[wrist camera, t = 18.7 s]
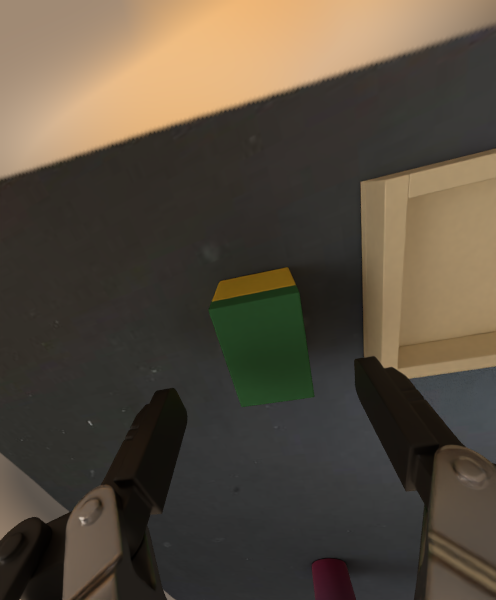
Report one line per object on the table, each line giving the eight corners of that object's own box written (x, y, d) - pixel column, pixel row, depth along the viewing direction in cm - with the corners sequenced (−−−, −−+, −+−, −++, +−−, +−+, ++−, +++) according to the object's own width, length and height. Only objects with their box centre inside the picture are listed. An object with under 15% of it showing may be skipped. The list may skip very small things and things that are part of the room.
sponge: (302, 354, 17) (314, 397, 14) (244, 363, 18) (241, 407, 14) (288, 266, 14) (299, 292, 11) (219, 281, 15) (207, 310, 11)
